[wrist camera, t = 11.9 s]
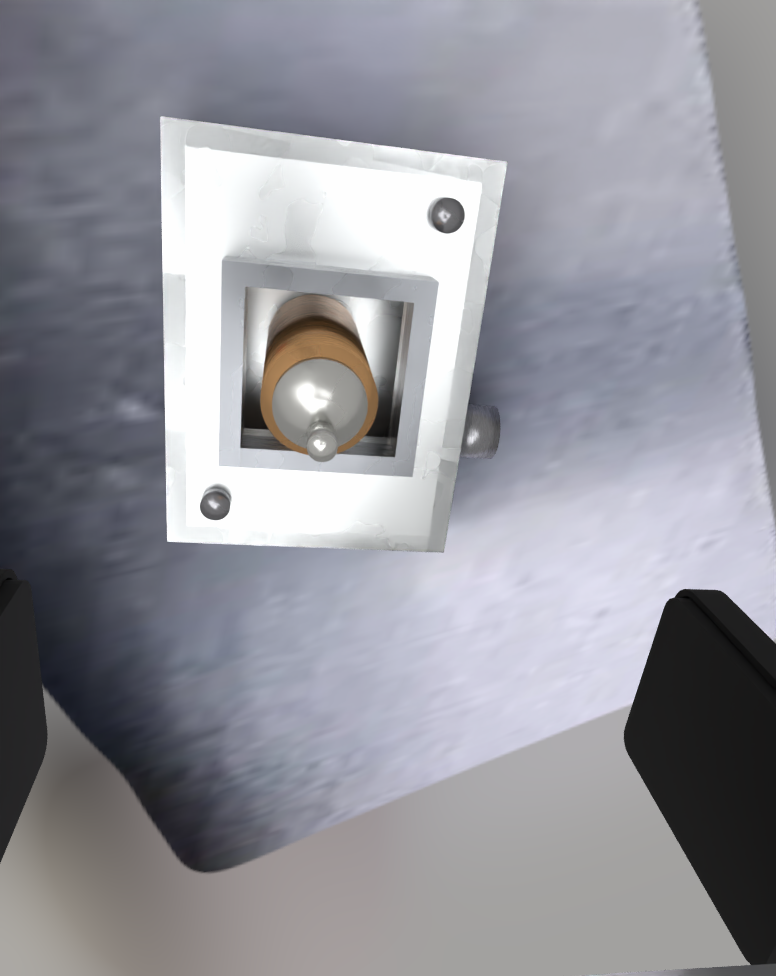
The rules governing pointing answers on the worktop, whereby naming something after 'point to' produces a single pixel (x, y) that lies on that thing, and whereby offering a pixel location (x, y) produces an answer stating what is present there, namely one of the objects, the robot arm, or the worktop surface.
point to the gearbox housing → (356, 286)
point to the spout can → (317, 379)
